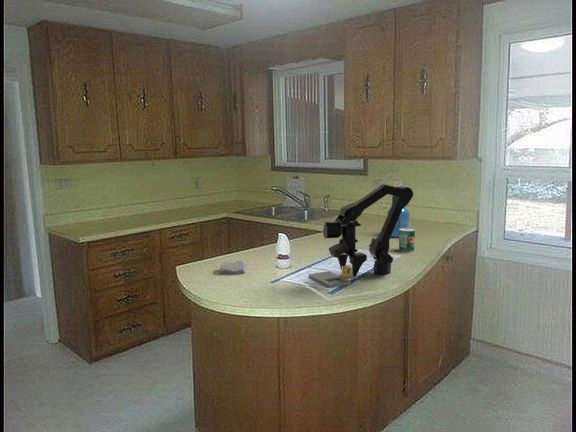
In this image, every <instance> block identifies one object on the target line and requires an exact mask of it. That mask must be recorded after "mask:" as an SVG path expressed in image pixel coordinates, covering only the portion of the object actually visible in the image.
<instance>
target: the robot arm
mask: <svg viewBox="0 0 576 432" xmlns="http://www.w3.org/2000/svg"><path fill="white" fill-rule="evenodd" d="M397 186H398V187H397ZM397 186H392V185H389V184H386V183H383V184H380V185H379V186H378V187H377V188H375V189H373V190H372V191H371V192H369V193H368V194H366V195H365V196H363V197H362V198H360V199H359V200H357V201H355V202H352V203H348V204H347V205H344V206H343V207H341V208H340V211H339V214H338V216H337V217H336V219H335V220H334V221H324V225H323V228H322V234H323V235H322V236H323V238H324V239H338V238H339V240H338V243H336V244H334V245H332V246H330V247H329V248H328V251H329V254H330V256H331V257H333V258H337V261H338V264H339V268H340V271H341V272H342V266H346V265H347V262H348V261H349V264H350V265H351V267H352V271H353V276H354V277H355V276H358V273H359V271H360V269H361V267H362V266H363V264H364V263H366V261H368V255H367V254H365V253H363V252H361V251H359V252H358V249H357V248H356V245H357V244H356V243H358V242H359V241H358V239H357V238H356V237H357V235H356V234H357V231H356V230H357V229H356V227H361V225H362V224H361V223H359V221H358V220H357V219H358V218H360V216H361V215H362V214H363V212H364V211H365V210H366V209H367V208H370V207H371V206H372V205H374V204H375V203H376V202H378V201H379V200H381V199H383V198H384V197H385V196H387V195H390V196H392V197H391V198H392V199H391V202H392V203H391V206H390V208H391V209H390V211H389V213H388V216H386V218H385V220H384V224H383V226H382V228H381V229H380V233H379V234H378V236H377V237H376V238H374V237H372V238H371V242H370V244H369V245H368V252H369V255H370V256H372V257H373V260H374V261H373V262H374V264H373V275H376V276H387V275H389V274H392V272H391V271H392V263H393V261H394V257H393V256H392V255H391V254H390V253H389V252H390V251H389V250H390V242H391V241H390V240H391V238H392V237H391V235H392V233H393V231H394V229H395V226H396V224H397V222H398V219H399V217H400V215H401V212H402V210H403V208H404V207H407V206H408V205H410V202H411V200H412V199H413V197H414V191H413V189H412V188H411V187H408V186H403V185H397ZM340 237H341V238H340ZM348 259H349V260H348Z"/></svg>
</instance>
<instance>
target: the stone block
mask: <svg viewBox="0 0 576 432" xmlns="http://www.w3.org/2000/svg"><path fill="white" fill-rule="evenodd" d="M247 264H248V263H247V262H246V261H244V260H238V261H234V262H227V261H225V262H223V263H221V264H220V266H219V273H220V274H226V275H244V274H246V273H247V269H248V268H247V266H248V265H247Z"/></svg>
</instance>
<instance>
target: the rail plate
mask: <svg viewBox="0 0 576 432" xmlns="http://www.w3.org/2000/svg"><path fill="white" fill-rule="evenodd" d="M339 275H340V274H337V273H335V272H332V271H330V270H328V271H321V272H315V273H309V274H308V277H309V278H310V279H312V280H314V281H316V282H318V283H320V284H321V285H322V286H325V287H326V288H328V289H329V288H335V287H341V286H343V287H344V286H347V285H351V284H352V281H351V280H350V279H345V278H343V277H341V276H339ZM333 281H339V282H335V283H331V282H333Z"/></svg>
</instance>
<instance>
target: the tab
mask: <svg viewBox="0 0 576 432" xmlns="http://www.w3.org/2000/svg"><path fill="white" fill-rule="evenodd" d="M338 275H339V276H341V277H343V278H345V279H347V280H351V279H357V278H359V276H358V275H356V276H355V277H349V278H346V277H344V276H342V273H341V274H338Z"/></svg>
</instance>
